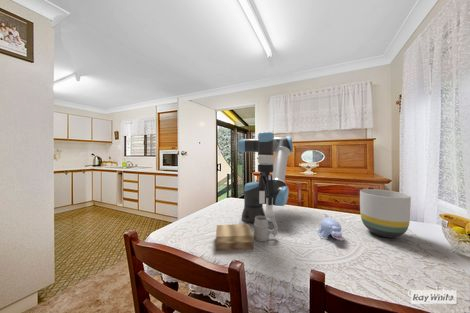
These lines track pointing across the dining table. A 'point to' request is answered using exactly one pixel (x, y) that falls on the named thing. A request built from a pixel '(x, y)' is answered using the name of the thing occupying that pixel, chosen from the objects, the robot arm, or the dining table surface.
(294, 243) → the dining table surface
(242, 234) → the wooden block
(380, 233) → the planter
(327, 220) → the light blue rounded figure
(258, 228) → the mug
